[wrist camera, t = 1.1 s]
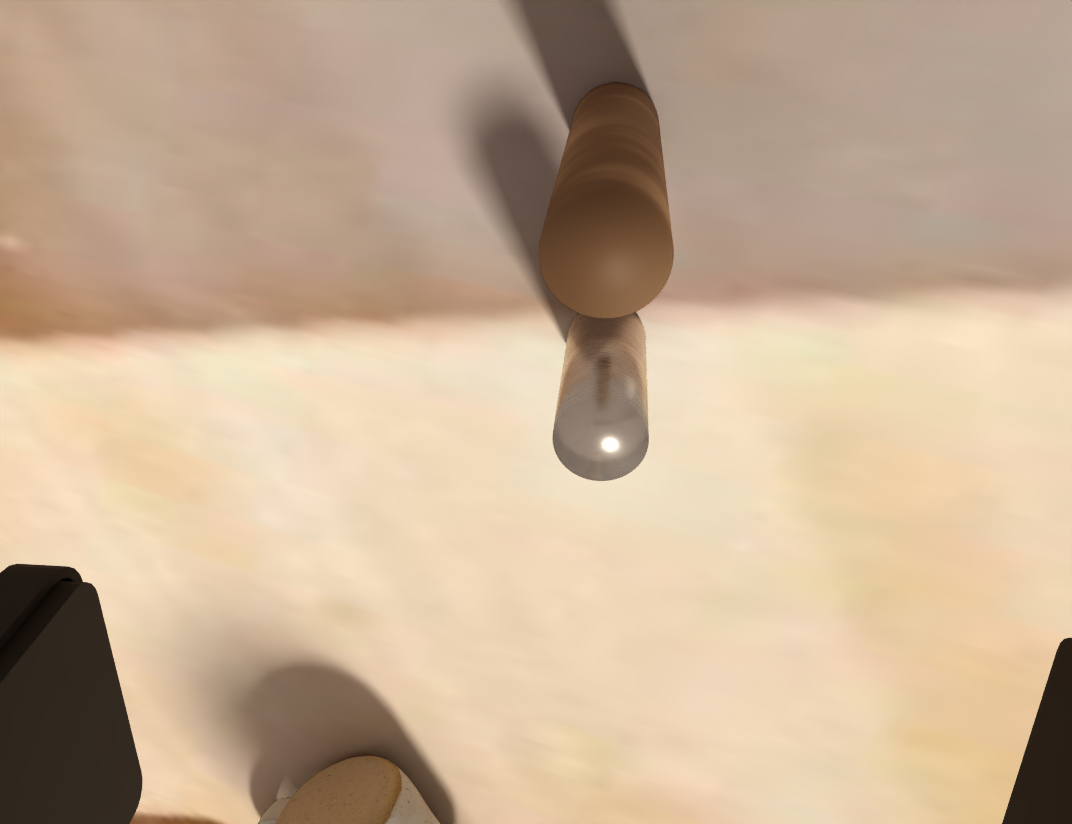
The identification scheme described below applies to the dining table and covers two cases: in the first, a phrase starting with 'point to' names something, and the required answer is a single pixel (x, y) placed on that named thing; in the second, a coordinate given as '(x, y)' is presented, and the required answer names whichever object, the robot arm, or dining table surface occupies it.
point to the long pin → (609, 208)
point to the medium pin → (603, 398)
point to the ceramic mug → (354, 797)
